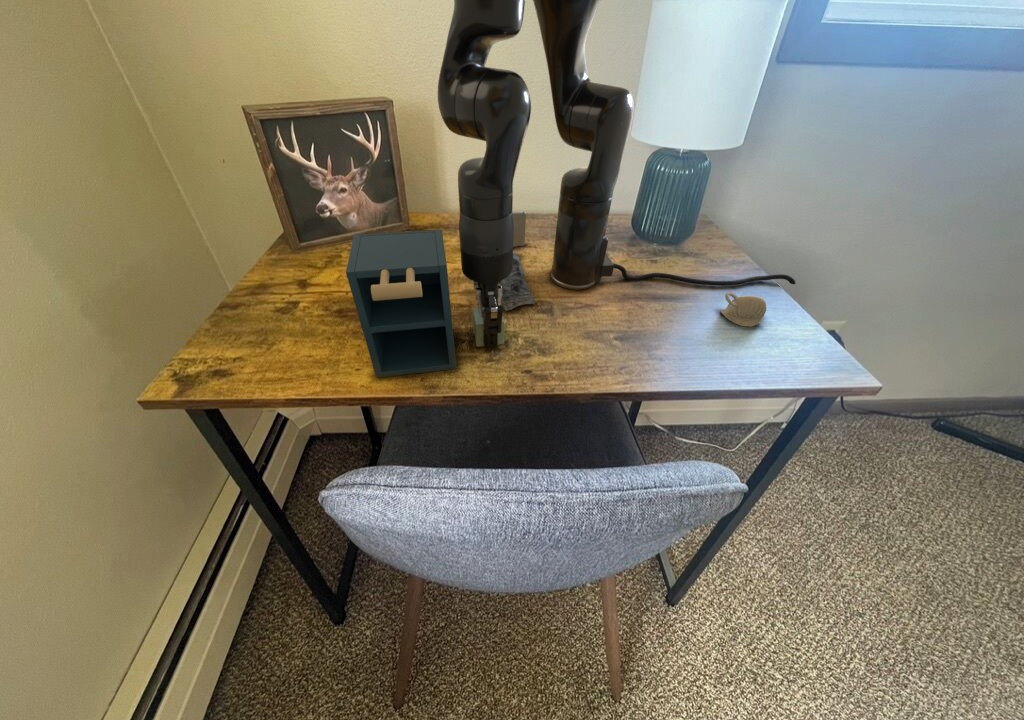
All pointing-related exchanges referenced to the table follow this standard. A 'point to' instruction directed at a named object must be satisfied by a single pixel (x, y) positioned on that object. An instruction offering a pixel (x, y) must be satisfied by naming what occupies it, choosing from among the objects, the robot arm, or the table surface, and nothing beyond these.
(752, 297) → the decorative ornament
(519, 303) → the grey cloth
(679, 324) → the table surface
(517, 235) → the cassette
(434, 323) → the shelf
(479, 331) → the block
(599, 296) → the table surface
